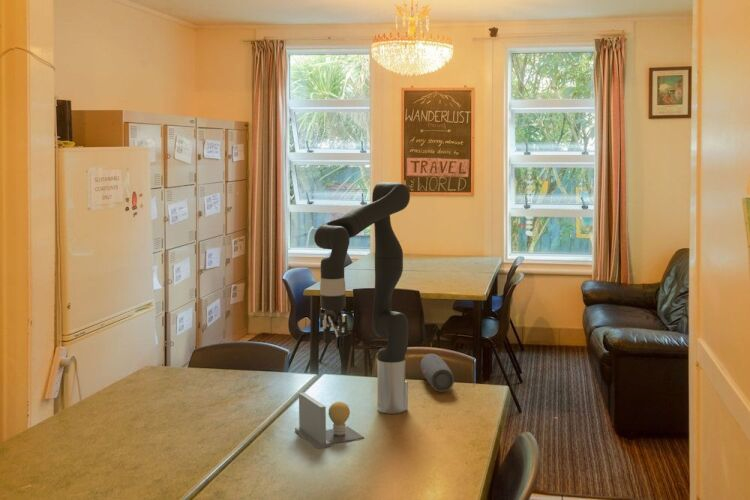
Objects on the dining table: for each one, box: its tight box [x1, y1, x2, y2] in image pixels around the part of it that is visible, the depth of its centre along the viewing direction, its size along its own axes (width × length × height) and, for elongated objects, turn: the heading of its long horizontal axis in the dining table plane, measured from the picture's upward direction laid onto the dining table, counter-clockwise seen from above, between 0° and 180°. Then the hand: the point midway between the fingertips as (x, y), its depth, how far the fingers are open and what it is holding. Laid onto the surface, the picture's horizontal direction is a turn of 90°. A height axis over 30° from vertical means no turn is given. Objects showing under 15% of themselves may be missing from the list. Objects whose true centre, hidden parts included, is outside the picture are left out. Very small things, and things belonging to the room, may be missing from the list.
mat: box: [326, 425, 365, 446], centre depth 239 cm, size 11×11×1 cm
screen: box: [294, 391, 331, 449], centre depth 237 cm, size 4×17×12 cm, turn 28°
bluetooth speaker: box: [420, 353, 455, 393], centre depth 290 cm, size 23×9×10 cm, turn 6°
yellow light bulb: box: [328, 401, 351, 436], centre depth 239 cm, size 6×6×10 cm
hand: (333, 345), depth 238 cm, fingers open, 8 cm apart
